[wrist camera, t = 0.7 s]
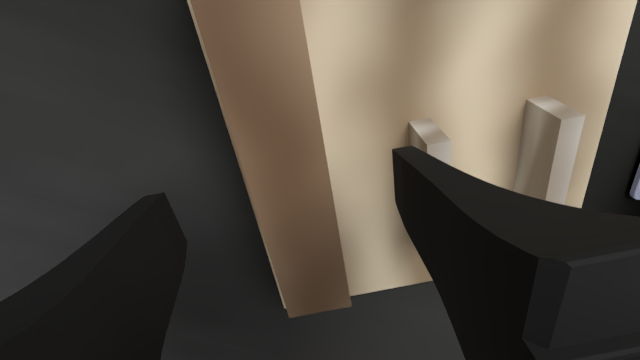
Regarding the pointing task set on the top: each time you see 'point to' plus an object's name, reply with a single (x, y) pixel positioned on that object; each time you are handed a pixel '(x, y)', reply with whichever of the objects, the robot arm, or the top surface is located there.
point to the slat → (279, 142)
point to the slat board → (453, 106)
